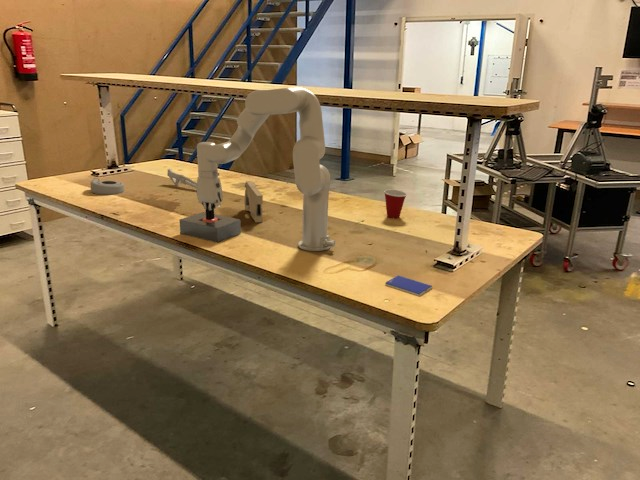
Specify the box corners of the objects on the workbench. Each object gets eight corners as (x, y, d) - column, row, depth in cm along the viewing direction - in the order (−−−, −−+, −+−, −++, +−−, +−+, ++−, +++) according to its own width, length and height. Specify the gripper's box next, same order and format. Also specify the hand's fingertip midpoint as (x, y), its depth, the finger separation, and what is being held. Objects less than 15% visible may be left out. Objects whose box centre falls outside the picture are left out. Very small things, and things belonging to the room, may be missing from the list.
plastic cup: (403, 221, 235) (405, 195, 231) (380, 218, 238) (381, 193, 234) (406, 215, 245) (409, 190, 241) (384, 212, 248) (386, 188, 244)
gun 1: (169, 181, 296) (170, 168, 293) (204, 198, 281) (206, 185, 278) (166, 181, 295) (167, 168, 291) (202, 199, 280) (203, 185, 277)
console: (240, 233, 211) (240, 219, 210) (217, 242, 200) (217, 228, 198) (204, 225, 221) (203, 211, 219) (180, 233, 209) (179, 219, 208)
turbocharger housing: (120, 197, 268) (126, 190, 282) (120, 185, 266) (126, 179, 280) (86, 195, 266) (94, 188, 280) (85, 183, 264) (93, 176, 278)
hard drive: (385, 282, 165) (419, 293, 158) (398, 274, 171) (432, 285, 164) (385, 286, 166) (419, 297, 158) (398, 279, 172) (431, 289, 164)
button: (220, 225, 210) (220, 218, 210) (210, 229, 206) (210, 222, 205) (209, 223, 213) (209, 216, 212) (199, 226, 208) (199, 219, 207)
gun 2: (243, 208, 248) (243, 178, 242) (250, 208, 249) (250, 178, 243) (255, 227, 227) (256, 195, 221) (263, 227, 228) (263, 194, 222)
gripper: (229, 174, 202) (230, 219, 208) (200, 170, 209) (202, 213, 215) (216, 177, 196) (218, 224, 202) (187, 173, 203) (189, 218, 209)
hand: (210, 218), depth 208 cm, fingers closed
